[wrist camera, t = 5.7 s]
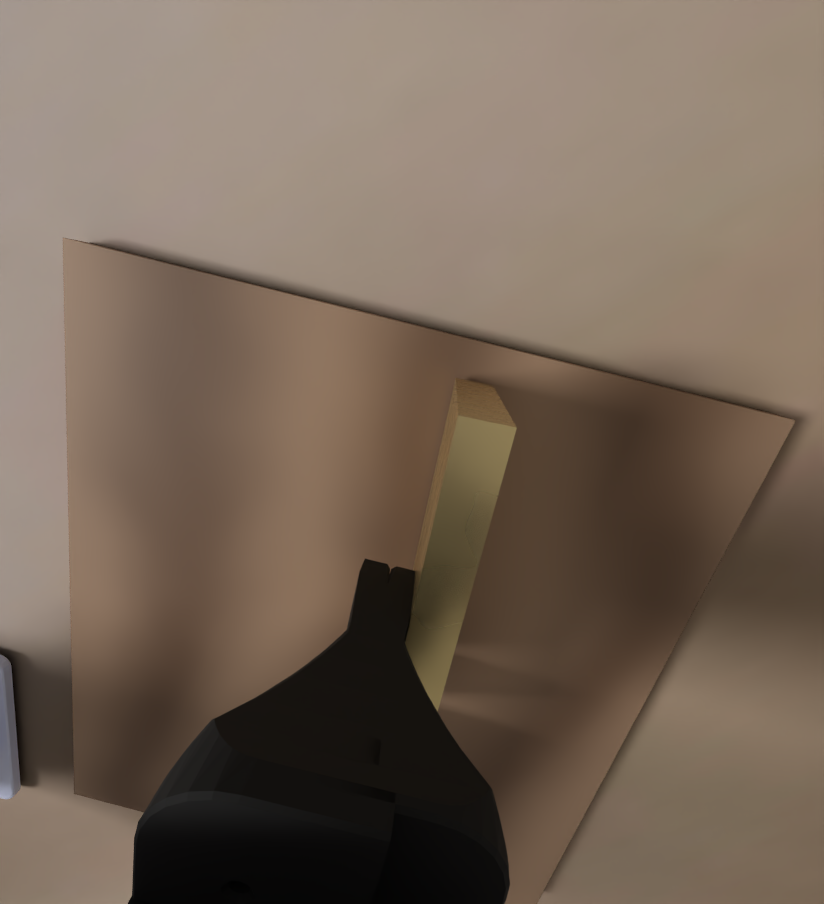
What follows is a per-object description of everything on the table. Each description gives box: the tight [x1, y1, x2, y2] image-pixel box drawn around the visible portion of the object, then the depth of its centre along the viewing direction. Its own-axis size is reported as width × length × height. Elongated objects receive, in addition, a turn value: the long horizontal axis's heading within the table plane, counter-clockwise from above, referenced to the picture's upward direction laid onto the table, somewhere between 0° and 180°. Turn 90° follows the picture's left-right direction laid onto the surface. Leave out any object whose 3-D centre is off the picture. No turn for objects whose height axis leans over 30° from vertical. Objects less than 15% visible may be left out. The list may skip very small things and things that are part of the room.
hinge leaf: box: [404, 378, 517, 712], centre depth 11 cm, size 2×11×4 cm, turn 169°
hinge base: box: [63, 238, 795, 904], centre depth 13 cm, size 20×22×6 cm
